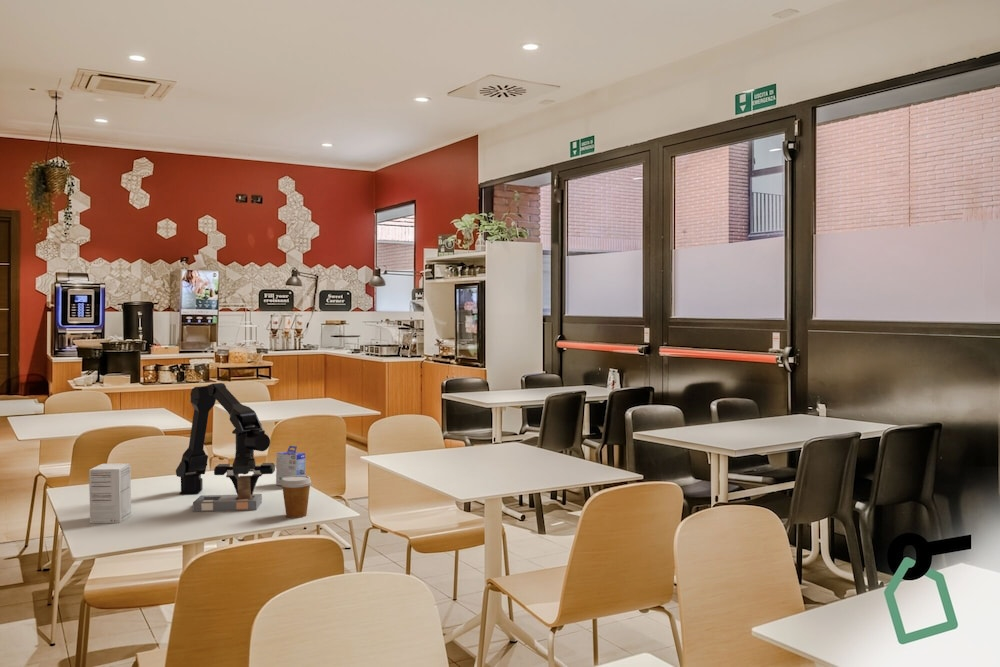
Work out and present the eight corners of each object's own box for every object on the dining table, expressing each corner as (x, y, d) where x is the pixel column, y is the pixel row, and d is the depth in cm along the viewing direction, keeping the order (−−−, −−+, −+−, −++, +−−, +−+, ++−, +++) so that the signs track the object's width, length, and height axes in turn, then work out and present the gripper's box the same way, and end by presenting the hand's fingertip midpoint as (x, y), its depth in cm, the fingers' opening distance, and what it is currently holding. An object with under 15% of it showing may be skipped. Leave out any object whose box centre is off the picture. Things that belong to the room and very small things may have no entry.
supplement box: (102, 515, 257) (101, 463, 257) (132, 515, 258) (131, 462, 258) (89, 523, 248) (88, 469, 247) (120, 523, 249) (119, 468, 248)
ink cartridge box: (306, 485, 303) (306, 446, 302) (296, 487, 298) (296, 448, 297) (285, 482, 307) (284, 444, 307) (275, 485, 302) (275, 446, 302)
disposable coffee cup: (299, 510, 264) (299, 473, 264) (317, 515, 258) (317, 477, 258) (274, 516, 257) (274, 478, 257) (293, 521, 251) (292, 482, 251)
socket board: (192, 511, 262) (192, 502, 262) (200, 504, 273) (200, 494, 272) (256, 510, 265) (256, 500, 265) (261, 502, 275) (261, 493, 275)
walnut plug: (237, 502, 267) (237, 478, 267) (240, 499, 271) (240, 475, 271) (250, 501, 268) (250, 477, 267) (252, 499, 272) (252, 475, 271)
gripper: (209, 452, 260) (210, 501, 260) (269, 451, 262) (269, 499, 262) (217, 447, 271) (218, 493, 271) (275, 445, 273) (275, 491, 273)
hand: (245, 494), depth 269 cm, fingers closed on walnut plug, 4 cm apart
